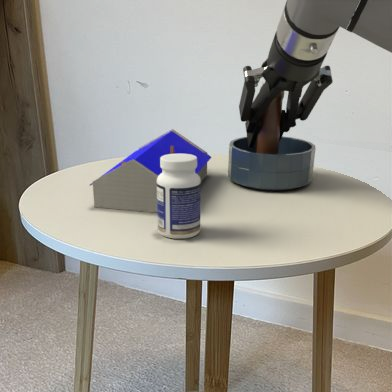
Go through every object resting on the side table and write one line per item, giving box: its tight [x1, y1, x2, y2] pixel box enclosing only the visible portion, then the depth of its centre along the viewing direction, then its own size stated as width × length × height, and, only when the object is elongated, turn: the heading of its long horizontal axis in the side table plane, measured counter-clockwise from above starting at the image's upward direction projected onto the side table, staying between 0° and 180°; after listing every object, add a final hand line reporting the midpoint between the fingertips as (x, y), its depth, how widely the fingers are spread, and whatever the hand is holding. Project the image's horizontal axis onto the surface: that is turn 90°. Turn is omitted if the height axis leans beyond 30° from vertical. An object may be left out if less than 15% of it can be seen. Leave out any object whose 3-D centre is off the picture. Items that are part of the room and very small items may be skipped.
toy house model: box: [89, 128, 212, 214], centre depth 95 cm, size 22×14×7 cm, turn 167°
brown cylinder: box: [257, 82, 285, 154], centre depth 98 cm, size 4×4×13 cm
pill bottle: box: [156, 153, 202, 240], centre depth 78 cm, size 6×6×10 cm
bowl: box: [227, 135, 316, 192], centre depth 101 cm, size 14×14×6 cm
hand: (261, 140), depth 103 cm, fingers closed on brown cylinder, 4 cm apart
